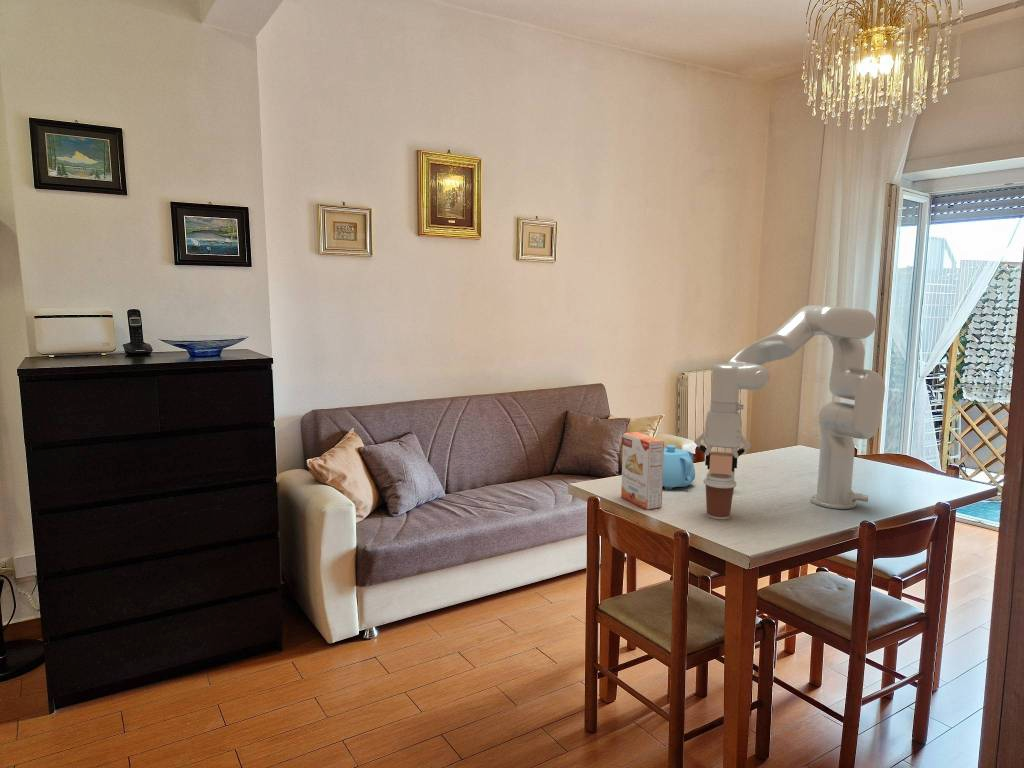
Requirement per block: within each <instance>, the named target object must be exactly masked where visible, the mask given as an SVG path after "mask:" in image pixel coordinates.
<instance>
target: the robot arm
mask: <svg viewBox="0 0 1024 768" xmlns="http://www.w3.org/2000/svg"><path fill="white" fill-rule="evenodd" d="M876 327H877V320H876V317H875V315H874V314H873V313H872V312H871V311H869V310H867V309H863V308H862V309H861V308H850V307H843V306H835V305H814V304H811V305H805V306H803V307H801V308H799V309H798V310H797V311H796V312H795V313H794V314H793V315H791V317H789V318H788V319H787V320H786V321H785V322H783V324H781V325H780V326H779V327H778V328H777V329H776V330H775V331H774V332H772V333H771V334H769V335H768V336H765V337H764V338H761V339H759V340H757V341H755V342H753V343H751V344H749V345H747V346H745V347H744V348H742V349H741V350H740V351H739V352H738V353H736V354H735V355H734V356H733V357H732V358H731V359H730V360H729V361H727V363H717V364H714V365H713V367H712V369H711V371H712V372H711V387H710V388H711V389H710V407H709V410H707V413H706V417H705V422H704V423H705V424H704V431H703V433H702V434H700V435H699V436H698V437H697V438H696V439H694V444H695V445H696V447H698V448H699V450H701V452H702V453H703V454H704V456H705V461H704V462H705V463H704V466H706V467H707V470H709V468H710V454H711V451H712V448H714V447H715V448H723V449H724V448H725V449H731V453H733V457H732V472H734V468H735V469H737V467H738V458H739V457H740V456H742V455H743V454H744V453H745V452H747V451H748V450H749V449H751V446H752V445H751V443H750V442H749V441H748V440H747V439H746V438H745V437H744V435H742V432H743V431H742V428H743V427H742V415H741V412H739V411H741V410H744V404H741V403H739V401H740V400H739V399H740V395H739V394H740V390H745V391H746V390H747V391H748V390H749V391H759V390H762V389H764V388H765V387H767V385H768V384H769V382H770V373H769V370H767V368H766V367H765V366H763V365H764V364H767V363H770V362H774V361H779V360H783V359H787V358H790V357H792V356H794V355H795V354H797V352H799V351H800V349H802V348H803V347H804V346H805V345H806V344H807V343H808V342H809V341H810V340H812V339H813V338H814V337H815V336H826V337H827V338H828V340H829V341H830V343H831V345H832V349H833V353H832V354H833V355H832V362H831V363H832V364H831V369H830V377H829V382H828V383H829V384H828V387H829V391H830V393H831V394H832V395H833V396H834V397H837V398H842V399H846V400H851V401H854V403H853V404H852V403H847V402H841V401H832V402H831V401H830V402H828V403H826V404H824V405H823V406H822V407H821V409H820V410H819V414H818V424H819V430H820V431H819V432H820V435H819V436H820V443H819V445H820V446H819V459H818V471H817V472H818V474H817V475H818V476H817V486H816V487H817V489H816V493H815V494H812V495H811V496H810V501H811V502H812V503H813V504H815V505H817V506H821V507H824V508H825V507H826V508H829V509H838V510H839V509H840V510H849V509H854V508H855V507H857V501H858V502H863V503H864V502H866V503H868V502H869V495H867V494H865V495H864V494H863V493H855V492H854V491H853V490H852V484H853V474H854V473H853V471H854V464H855V463H854V462H855V450H856V449H855V443H854V440H853V439H858V440H868V439H871V438H873V437H874V436H875V435H876V433H877V432H878V429H879V427H880V424H881V418H882V412H883V406H884V401H885V400H884V399H885V394H886V393H885V392H886V386H885V385H886V384H885V381H884V379H883V376H882V375H881V374H880V373H879V372H877V371H875V370H872V369H864V366H865V358H866V356H865V355H866V351H865V350H866V349H865V347H864V346H865V345H864V343H863V341H862V340H864V339H867V338H869V337H870V336H871V335H872V334H873V333H874V332H875V330H876ZM701 441H703V443H704V444H703V443H702V442H701ZM741 443H742V444H743V446H742V447H741V445H742V444H741ZM740 447H741V448H740ZM738 448H739V449H738Z"/></svg>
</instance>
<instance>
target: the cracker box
mask: <svg viewBox="0 0 1024 768" xmlns="http://www.w3.org/2000/svg"><path fill="white" fill-rule="evenodd" d="M664 448H665V441H664V440H662V439H660V438H657V437H653V436H651V435H648V434H645V433H643V432H639V431H634V432H633V431H632V432H624V433H623V434H622V455H621V457H622V460H621V461H622V462H621V492H620V493H621V495H620V496H621V498H623V499H625V500H627V501H628V502H630V503H633V504H634V505H636V506H638V507H640V508H642V509H644V510H646V511H647V510H648V511H649V510H655V509H661V508H662V507H663V506H662V503H663V486H662V485H663V459H664Z"/></svg>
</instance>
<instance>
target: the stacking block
mask: <svg viewBox="0 0 1024 768" xmlns="http://www.w3.org/2000/svg"><path fill="white" fill-rule="evenodd" d="M732 457H733V452H726V451H713V450H711V451H710V468H709V469H708V471H709V473H717V474H727V475H731V474H732Z"/></svg>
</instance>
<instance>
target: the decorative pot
mask: <svg viewBox="0 0 1024 768" xmlns="http://www.w3.org/2000/svg"><path fill="white" fill-rule="evenodd" d="M665 446H666V447H664V459H663V485H662V488H663V487H664V489H665V490H673V488H678V487H679V488H680V487H681V488H687V487H688V485H691V484H692V483H693V482H694V480H695V478H696V470H695V465H694V462H693V461H694V454H693V452H692V451H690V450H687V449H680V448H677V446H676V445H674V444H666V445H665Z"/></svg>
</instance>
